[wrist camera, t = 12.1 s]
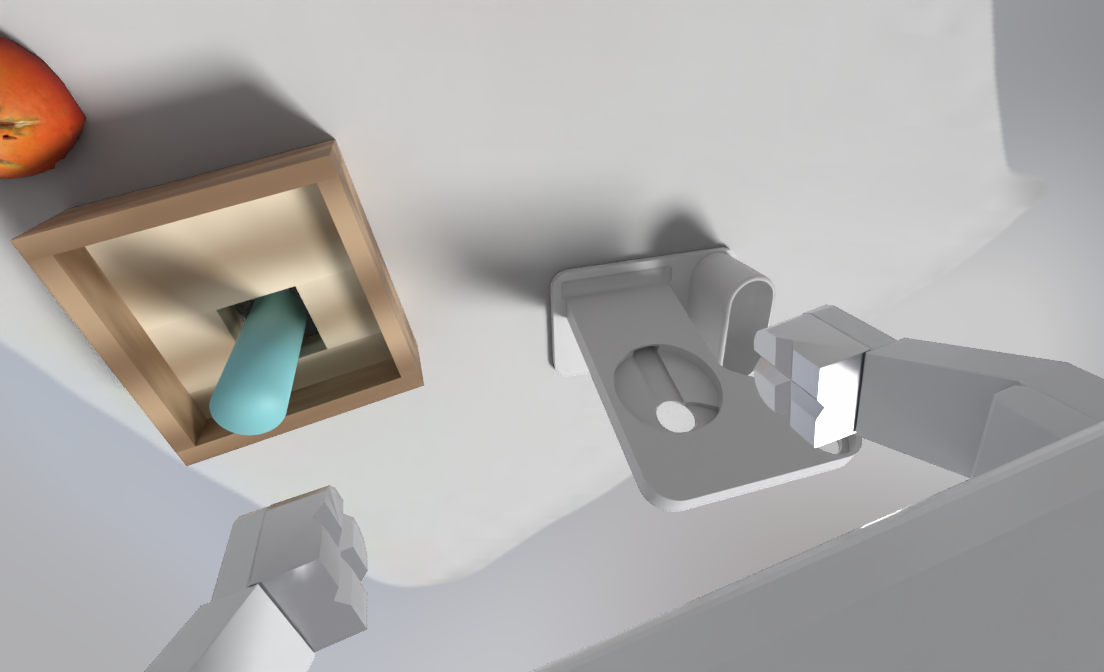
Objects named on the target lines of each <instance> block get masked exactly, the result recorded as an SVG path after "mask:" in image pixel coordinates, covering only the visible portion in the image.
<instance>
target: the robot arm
mask: <svg viewBox="0 0 1104 672" xmlns="http://www.w3.org/2000/svg"><path fill="white" fill-rule="evenodd" d="M754 350H755V351H756V352H757V353H758V354H759V355H760V356H761V357H760V359H759V361H758V363H757V364H756V366H755V368H754V376H755V384H756V387H757V389H758V392H759V395H760V396H761V398H762V399H763V401H764V402H765V404H766V405H767V406H768V407H769V408H771V409H772V410H773V411H774V412H776V413H779V414H783V415H786V416H789V418H790V427H792V428H793V429H794V430H795V431H796V432H797V433H798V434H799V435H801V436H802V437H803V438H804V439H805V440H806V441H807V442H808V443H810V444H811V445H812V446H813V447H814V448H816V447H818V446H821V445H824V444H827V443H829V442H832V441H835V440H837V439H840V438H843V437H845V436H848V435H851V434H853V433H856V434H855V435H857V436H859V437H862V438H865V439H867V440H870V441H872V442H875V443H878V444H880V445H883V446H886V447H888V448H891V449H894V450H896V451H899V452H902V453H904V454H907V455H910V456H912V457H915V458H918V459H920V460H923V461H926V462H928V463H931V464H934V465H936V466H939V467H942V468H944V469H947V470H950V471H953V472H955V473H958V474H960V475H963V476H966V477H968V478H970V479H969V480H966V481H964V482H962V483H959V484H957V485H955V486H953V487H950V488H948V489H946V490H943V491H941V492H939V493H937V494H934V495H932V496H930V497H927V498H925V499H923V500H921V501H918V502H916V503H914V504H912V505H909V506H907V507H905V508H902V509H900V510H898V511H895V512H893V513H891V514H889V515H887V516H884V517H882V518H879V519H877V520H875V521H873V522H870V523H868V524H866V525H864V526H861V527H859V528H857V529H854V530H852V531H850V532H848V533H845V534H843V535H841V536H839V537H837V538H834V539H832V540H830V541H827V542H825V543H823V544H820V545H818V546H816V547H813V548H811V549H809V550H807V551H804V552H802V553H800V554H798V555H795V556H793V557H791V558H788V559H786V560H784V561H782V562H779V563H777V564H775V565H773V566H770V567H768V568H766V569H763V570H761V571H759V572H757V573H754V574H752V575H750V576H747V577H745V578H743V579H741V580H738V581H736V582H734V583H731V584H729V585H727V586H725V587H722V588H720V589H718V590H716V591H713V592H711V593H708V594H706V595H704V596H702V597H699V598H697V599H695V600H692V601H690V602H688V603H686V604H683V605H681V606H679V607H677V608H674V609H672V610H670V611H667V612H665V613H663V614H660V615H658V616H656V617H653V618H651V619H649V620H647V621H644V622H642V623H640V624H638V625H635V626H633V627H631V628H628V629H626V630H624V631H622V632H619V633H617V634H614V635H612V636H610V637H608V638H605V639H603V640H601V641H599V642H596V643H594V644H592V645H589V646H587V647H585V648H582V649H580V650H578V651H576V652H573V653H571V654H569V655H566V656H564V657H562V658H560V659H557V660H555V661H553V662H550V663H548V664H546V665H544V666H541V667H539V668H537V669H534V670H532V671H530V672H1104V379H1103V378H1100V377H1098V376H1096V375H1094V374H1092V373H1089V372H1087V371H1085V370H1083V369H1081V368H1078V367H1076V366H1074V365H1072V364H1070V363H1067V362H1062V361H1054V360H1048V359H1042V358H1035V357H1028V356H1022V355H1015V354H1009V353H1002V352H995V351H989V350H981V349H975V348H969V347H962V346H956V345H948V344H942V343H936V342H929V341H923V340H915V339H909V338H903V339H900V340H896V339H894V338H892V337H890V336H889V335H887V334H885V333H883V332H881V331H879V330H878V329H876V328H874V327H872V326H870V325H868V324H867V323H865V322H863V321H861V320H859V319H858V318H856V317H854V316H852V315H850V314H848V313H847V312H845V311H843V310H841V309H839V308H838V307H836V306H832V305H824V306H821V307H819V308H816V309H814V310H811V311H808V312H806V313H803V314H802V315H800V316H797V317H795V318H792V319H789V320H786V321H784V322H781V323H778V324H775V325H773V326H770V327H767V328H765V329H762V330H759V331H757V333H756V335H755V338H754ZM367 571H368V568H367V552H366V547H365V542H364V538H363V536H362V533H361V531H360V528H359V526H358V525H357V523H356V521H355V519H354V518H353V517H350V516H348V515H345V514H343V499H342V498H341V496H340V495H339V493H338V492H337V490H336V489H335V487H332V486H326V487H323V488H320V489H317V490H314V491H311V492H308V493H305V494H302V495H299V496H296V497H293V498H290V499H287V500H284V501H282V502H279V503H276V504H273V505H270V506H269V507H265V508H262V509H259V510H256V511H254V512H250V513H248V514H245V515H242V516H240V517H239V518H238V519H237V520H236V521H235V522H234V523H233V526H232V530H231V533H230V537H229V540H228V544H227V547H226V551H225V554H224V558H223V561H222V565H221V568H220V571H219V575H218V578H217V582H216V585H215V589H214V592H213V596H212V600H211V602H209V603H207V604H204V605H202V606H200V608H198V610H197V611H196V612H195V613H194V615H192V617H191V618H190V619H189V620H188V621H187V622H186V623H185V625H184V626H183V627H182V628H181V629H180V631H179V632H178V633H177V634H176V635H175V636H174V637H173V639H172V640H171V641H170V642H169V643H168V644H167V646H166V647H165V648H164V649H163V650H162V652H161V653H160V654H159V655H158V656H157V657H156V659H155V660H154V661H153V662H152V663H151V664H150V665H149V667H148V668H147V669H146V670H145V671H144V672H307V671H308V669H309V667H310V665H311V663H312V661H313V659H314V657H315V653H314V652H316V651H318V650H321V649H323V648H325V647H328V646H330V645H332V644H335V643H337V642H339V641H341V640H344V639H346V638H348V637H351V636H353V635H355V634H358V633H360V632H362V631H364V630H367V601H368V599H367V597H368V594H367V592H366V590H365V588H364V587H363V585H362V584H361V580H362V579H363V577H364V575H365V574H366V572H367Z"/></svg>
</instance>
